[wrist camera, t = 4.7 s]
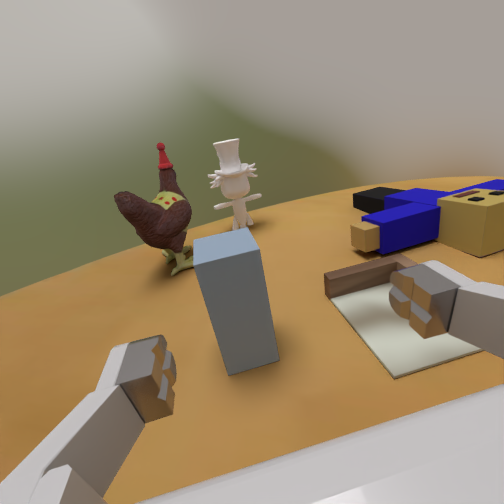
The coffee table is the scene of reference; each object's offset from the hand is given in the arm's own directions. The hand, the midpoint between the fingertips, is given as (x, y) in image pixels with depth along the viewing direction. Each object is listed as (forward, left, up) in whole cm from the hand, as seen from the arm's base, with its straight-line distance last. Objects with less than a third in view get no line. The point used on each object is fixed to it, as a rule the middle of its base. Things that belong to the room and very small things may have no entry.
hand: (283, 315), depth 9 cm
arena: (+18, +4, -14) cm, 23 cm away
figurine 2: (+26, +38, -15) cm, 48 cm away
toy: (+43, +10, -15) cm, 47 cm away
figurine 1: (+9, +38, -15) cm, 42 cm away
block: (+5, +12, -14) cm, 19 cm away
